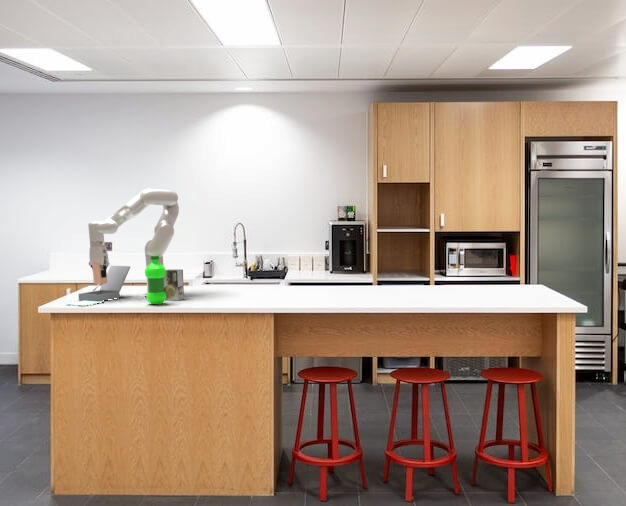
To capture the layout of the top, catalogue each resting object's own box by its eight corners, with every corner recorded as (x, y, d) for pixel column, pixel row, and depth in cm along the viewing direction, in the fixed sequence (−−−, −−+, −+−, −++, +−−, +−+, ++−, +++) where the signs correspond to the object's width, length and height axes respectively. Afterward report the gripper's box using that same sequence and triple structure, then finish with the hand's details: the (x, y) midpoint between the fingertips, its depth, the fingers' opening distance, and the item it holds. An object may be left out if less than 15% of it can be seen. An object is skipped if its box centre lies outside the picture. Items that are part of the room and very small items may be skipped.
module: (107, 282, 392) (105, 259, 391) (100, 284, 388) (98, 260, 387) (100, 282, 395) (98, 259, 394) (93, 283, 390) (91, 260, 389)
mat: (104, 302, 380) (104, 301, 380) (84, 306, 368) (84, 305, 368) (85, 301, 387) (85, 300, 387) (65, 305, 375) (65, 303, 375)
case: (131, 296, 403) (130, 266, 402) (98, 302, 381) (96, 270, 380) (111, 295, 411) (110, 265, 409) (77, 301, 389) (76, 269, 388)
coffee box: (184, 299, 388) (183, 269, 387) (178, 300, 382) (177, 270, 381) (169, 298, 391) (168, 269, 390) (163, 300, 385) (162, 270, 384)
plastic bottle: (167, 304, 368) (166, 256, 366) (146, 306, 365) (144, 257, 363) (166, 302, 378) (164, 254, 376) (145, 303, 375) (143, 255, 373)
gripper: (113, 243, 388) (116, 276, 390) (91, 243, 397) (94, 276, 399) (103, 244, 382) (106, 278, 384) (80, 245, 390) (83, 278, 392)
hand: (100, 276), depth 391 cm, fingers closed on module, 5 cm apart
